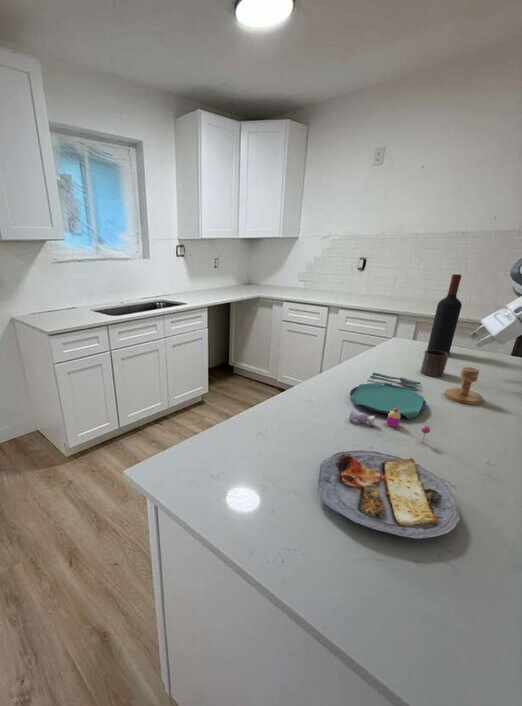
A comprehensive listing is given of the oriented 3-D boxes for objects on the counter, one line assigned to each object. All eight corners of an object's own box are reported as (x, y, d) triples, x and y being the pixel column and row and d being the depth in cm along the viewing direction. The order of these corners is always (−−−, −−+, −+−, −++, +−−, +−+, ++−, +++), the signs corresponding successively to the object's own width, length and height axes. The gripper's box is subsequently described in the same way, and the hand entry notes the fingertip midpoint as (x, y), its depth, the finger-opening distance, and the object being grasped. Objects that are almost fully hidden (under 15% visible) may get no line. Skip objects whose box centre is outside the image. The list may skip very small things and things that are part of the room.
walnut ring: (440, 371, 127) (446, 350, 124) (444, 378, 121) (450, 356, 118) (419, 369, 129) (423, 349, 126) (422, 375, 123) (427, 354, 120)
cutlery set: (340, 408, 104) (341, 400, 103) (366, 374, 125) (367, 368, 125) (419, 427, 93) (421, 419, 92) (433, 387, 114) (435, 380, 113)
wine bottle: (423, 353, 144) (441, 275, 132) (430, 348, 149) (448, 273, 137) (445, 357, 139) (466, 276, 127) (451, 352, 144) (472, 274, 132)
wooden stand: (476, 393, 109) (485, 366, 106) (485, 406, 102) (495, 377, 98) (441, 390, 112) (449, 362, 109) (448, 402, 105) (456, 373, 101)
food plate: (322, 449, 85) (323, 437, 83) (437, 469, 77) (441, 455, 75) (312, 525, 64) (314, 510, 62) (469, 564, 55) (476, 547, 54)
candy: (346, 426, 94) (349, 405, 92) (353, 413, 100) (356, 393, 98) (426, 445, 85) (432, 422, 83) (428, 430, 91) (434, 408, 89)
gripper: (506, 299, 118) (462, 326, 126) (525, 312, 101) (473, 342, 109) (519, 313, 118) (474, 339, 126) (540, 329, 101) (486, 358, 109)
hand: (473, 341), depth 117 cm, fingers open, 8 cm apart
